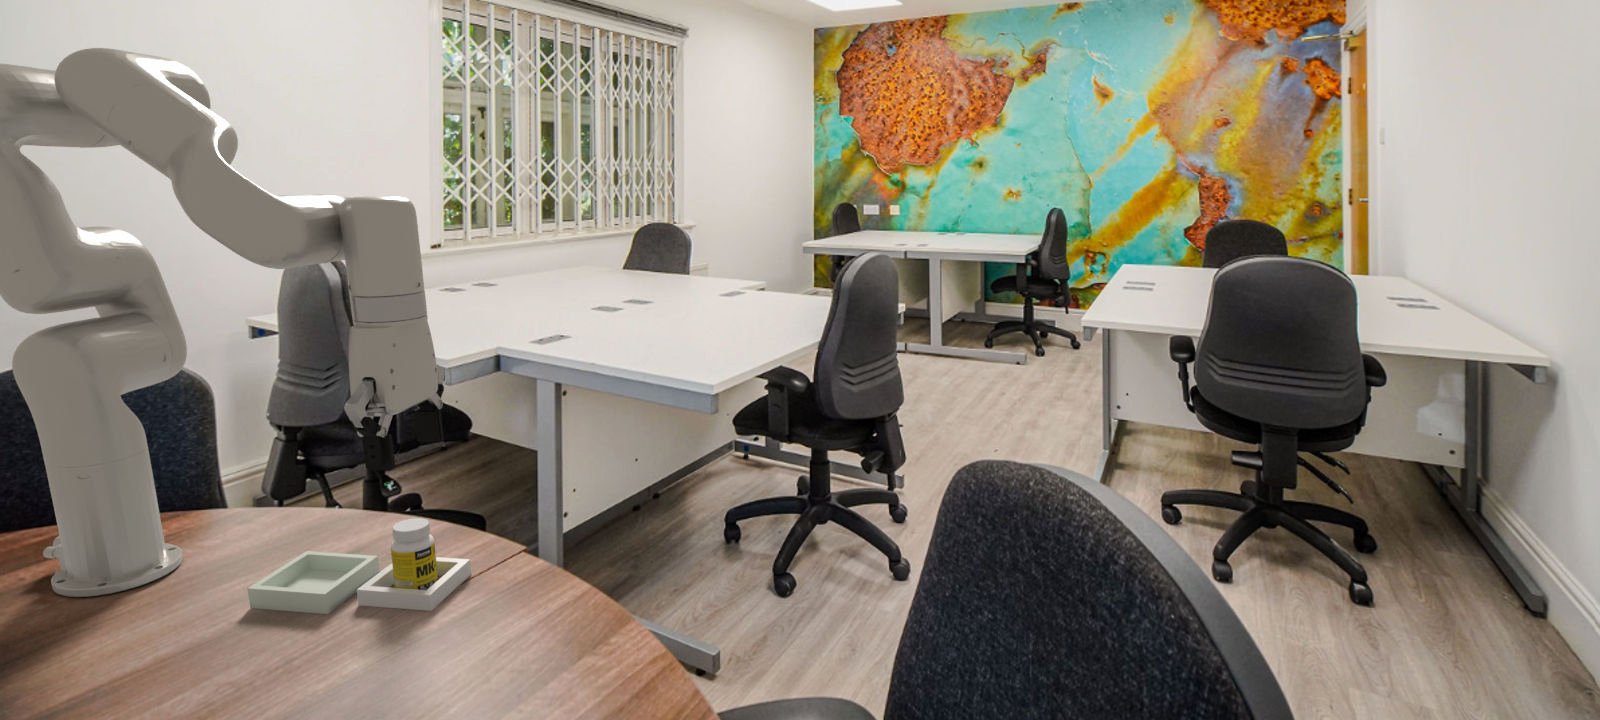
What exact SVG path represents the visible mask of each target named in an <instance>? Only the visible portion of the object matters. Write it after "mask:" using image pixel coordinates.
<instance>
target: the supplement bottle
mask: <svg viewBox="0 0 1600 720" xmlns="http://www.w3.org/2000/svg"><path fill="white" fill-rule="evenodd" d="M392 539H393V541H392V542H391V545H390V553H391V563H392V565H393V575H394V584H393V585H394V588H403V589H416V590H427V589H429V588H430V587H431V586H432V585H433V584H434V583H435V582H437V581H438V580H439V579H438V576H437V566H436V557H437V554H436V545H435V543H436V542H435V539H434V536H433V535H432V534H431V526H430V521H429V520H428V519H425V518H420V517H419V518H417V517H414V518H409V519H408V518H407V519H404V520H400V521H399V522H396V523H395V524H394V525H393V526H392Z"/></svg>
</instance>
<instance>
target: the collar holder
mask: <svg viewBox="0 0 1600 720" xmlns="http://www.w3.org/2000/svg"><path fill="white" fill-rule="evenodd" d="M436 566H437V577H439V579H438V581H437V582H435V583H434V584H433V585H432V586H431V587H430V588H429V589H427V590H416V589H403V588H395V587H393V585H394V575H393V565H392V562H391V563H390V564H388V565H387V566H386V567H384V568H382V570H381V571H380V572H379V573H378V574H377V575H375V576H374V577H373V578H371V579H370V580H369V581H367V582H366V583H365V584H363V585H362V586H361V587H360V588H358V589H357V592H356V595H357V596H356V597H357V602H358V603H357V605H358V606H361V607H362V606H363V607H374V608H376V607H377V608H388V609H389V608H390V609H399V610H400V609H401V610H412V611H428V612H432V611H433V610H435V609H436V607H437V606H439V605H440V604H441V603H442V602H443V601H444V600H445V599H446V598H448V596H450V594H452V592H454V591H455V590H456V589H457V588H458V587H459V586H460V585H461V584H462V583H463V582H465V580H466V581H467V579H468V578H469V577H470V576H471V575H472V567H471V566H472V565H471V559H470V558H456V557H455V558H453V557H442V556H441V557H440V556H436Z"/></svg>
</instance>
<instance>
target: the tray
mask: <svg viewBox="0 0 1600 720" xmlns="http://www.w3.org/2000/svg"><path fill="white" fill-rule="evenodd" d="M379 572H381V571H380V564H379V556H378V555H368V554H353V553H342V552H341V553H340V552H326V551H313V550H312V551H311V550H306V551H304V552H303V553H301V554H300V555H298V556H297V557H295V558H293V559H291V560H290V561H288V562H287V563H285V564H283V565H282V566H281V567H280V566H279V568H277V569H276V570H274V571H272V572H271V573H270V574H267V575H266V576H265V577H263V578H261V579H260V580H258V581H257V582H255V583H253V584H251V586H249V587H248V588H247V595H248V601H249V607H250V609H255V610H256V609H259V610H270V611H281V612H292V613H293V612H295V613H296V612H297V613H307V614H318V615H319V614H321V615H328V614H330V613H332V612H333V611H334V610H335V609H337V608H338V607H339V606H341V605H342V604H343V603H344V602H345V601H347V600H349V598H351V597H352V596H353V595H355V594H357V589H358V588H360V587H361V586H362V585H363V584H365V583H366V582H367V581H369V580H370V579H371V578H373V577H374V576H375V575H377V574H378V573H379Z"/></svg>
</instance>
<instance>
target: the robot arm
mask: <svg viewBox="0 0 1600 720" xmlns="http://www.w3.org/2000/svg"><path fill="white" fill-rule="evenodd" d="M211 108H212V107H211V96H210V95H209V91H208V89H207V87H206V85H205V84H204V82H203V81H202V80H201V78H200V77H199V76H198V75H197V74H196V73H195V72H194V71H193V70H191V68H189V67H188V66H185V65H184V64H182V63H180V62H179V61H176V60H173V59H171V58H167V57H161V56H157V55H152V54H144V53H138V52H132V51H127V50H120V49H114V48H107V47H106V48H105V47H92V48H91V47H90V48H85V49H84V48H83V49H80V50H77V51H74V52H72V53H70V54H68V55H66V57H64V58H63V59H62V61H60V62H59V64H58V65H57V68H56V70H53V69H45V68H37V67H32V66H30V67H29V66H23V65H16V64H9V63H1V62H0V296H1V298H2V300H3V301H4V302H5V303H6V305H8V306H9V307H11V308H12V309H14V310H15V311H18V312H21V313H24V314H30V315H43V314H44V315H45V314H54V313H63V312H69V311H76V310H81V309H82V310H83V309H86V308H87V309H88V308H95V309H96V311H97V314H98V316H99V317H93V318H87V319H86V318H85V319H81V320H76V321H71V322H66V323H60V324H55V325H52V326H49V327H46V328H44V329H40V330H38V331H35V332H34V333H32V334H30V335H29V336H27V337H26V338H25V339H24V340H22V341H21V343H20V344H18V346H17V348H16V349H15V351H14V353H13V355H12V359H11V360H12V361H11V363H12V364H11V366H12V367H11V369H12V373H13V376H14V379H15V383H16V385H17V387H18V389H19V390H20V392H21V394H22V397H23V399H24V400H25V403H26V405H27V406H28V408H29V411H30V413H31V416H32V419H33V422H34V424H35V428H36V431H37V435H38V439H39V443H40V447H41V453H42V459H43V461H44V466H45V470H46V471H45V472H46V476H47V480H48V486H49V491H50V495H51V501H52V506H53V510H54V514H55V520H56V524H57V530H58V535H57V536H56V537H55V538H54V540H53V542H52V546H51V545H50V546H47V547H45V548H44V549H43V552H42V556H43V557H44V558H47V559H58V563H59V567H60V569H59V570H58V571H56V572H55V573H54V574H53V575H52V577H51V580H50V584H51V589H52V591H53V592H54V593H56V594H58V595H61V596H64V597H71V598H73V597H74V598H82V597H83V598H85V597H86V598H87V597H96V596H103V595H109V594H114V593H119V592H122V591H127V590H130V589H134V588H137V587H141V586H143V585H146V584H149V583H152V582H154V581H156V580H159V579H161V578H162V577H164V576H166V575H168V574H169V573H171V572H173V571H174V570H175V569H177V568H178V567H179V566H180V565H181V563H182V561H183V558H184V556H183V551H182V548H180V546H177V545H175V544H172V543H167V542H165V538H164V532H163V527H162V520H161V515H160V509H159V504H158V496H157V491H156V486H155V480H154V479H155V478H154V474H153V468H152V463H151V457H150V451H149V446H148V439H147V436H146V432H145V429H144V426H143V424H142V421H140V419H139V417H138V416H137V415H136V414H135V413H134V412H133V411H132V410H131V409H130V407H129V406H128V405H127V404H126V403H125V402H124V400H123V399H122V395H124V394H127V393H131V392H133V391H136V390H139V389H143V388H147V387H151V386H154V385H156V384H157V385H158V384H159V383H163V382H164V381H165V382H166V381H167V380H168V381H169V379H171V378H173V377H174V376H177V374H178V373H179V372H181V370H182V369H183V368H184V366H185V363H186V361H187V355H188V346H187V340H186V337H185V334H184V330H183V328H182V325H181V323H180V319H179V317H178V313H177V311H176V309H175V307H174V305H173V302H172V299H171V297H170V293H169V291H168V289H167V286H166V284H165V281H164V278H163V276H162V273H161V271H160V269H159V266H158V264H157V262H156V259H155V258H154V256H153V255H152V253H151V251H150V250H149V249H148V248H147V247H146V246H145V245H144V244H143V243H142V241H140V240H139V239H138V238H137V237H135V236H134V235H132V234H131V233H129V232H127V231H125V230H122V229H119V228H115V227H109V226H85V227H78V226H77V225H75V223H74V222H73V220H72V218H71V216H70V214H69V212H68V209H67V207H66V205H65V202H64V199H63V197H62V194H61V192H60V191H59V189H58V187H57V186H56V184H55V183H54V182H53V181H52V180H51V178H50V177H49V176H48V175H47V174H46V173H45V172H44V171H43V170H42V169H41V167H40V166H38V165H37V164H35V163H34V162H33V161H32V160H31V159H29V157H27V156H25V155H24V154H23V153H22V151H21V150H20V149H21V148H22V147H23V146H38V147H54V148H55V147H57V148H58V147H59V148H61V147H63V148H84V149H85V148H92V149H93V148H107V147H115V146H121V147H122V148H124V149H125V150H127V151H128V152H130V153H132V154H133V155H134V156H136V157H137V158H139V159H140V160H142V161H143V162H144V163H146V164H148V166H150V167H152V168H153V169H154V170H157V171H158V172H160V174H162V175H164V176H165V177H166V178H168V179H169V180H170V182H171V186H172V190H173V193H174V196H175V197H176V199H177V201H178V203H179V205H180V206H181V209H182V210H183V212H184V213H185V215H186V216H187V217H188V218H189V219H190V221H191V222H192V223H193V224H194V225H195V226H196V227H198V228H199V230H201V231H202V232H203V233H205V234H207V236H209V237H211V238H213V239H214V240H215V241H217V243H220V244H221V245H223V246H224V247H225V248H227V249H229V250H230V251H232V252H233V253H235V254H236V255H238V256H240V257H241V258H243V259H245V260H247V261H249V262H251V263H253V264H256V265H259V266H261V267H263V268H264V267H265V268H268V269H275V270H286V269H293V268H301V267H306V266H312V265H319V264H327V263H333V262H340V261H345V271H346V278H347V286H348V294H349V301H350V302H349V303H350V311H351V317H352V323H353V324H352V326H351V327H350V329H349V330H350V331H349V338H348V374H349V375H348V376H349V387H350V397H349V399H348V400H347V401H346V402H345V404H344V405H343V406H344V407H343V410H344V412H345V414H346V415H347V417H348V419H349V421H350V426H351V427H352V428H354V429H353V430H355V431H356V433H357V436H358V437H360V438H361V442H362V449H363V450H362V451H363V456H364V463H365V468H366V469H367V470H368V471H385V472H386V471H389V472H390V471H393V470H394V469H396V459H395V451H394V442H393V436H392V435H393V434H390V433H389V434H388V431H389V428H390V425H391V421H392V419H393V416H394V415H397V414H400V413H403V412H405V411H407V410H409V409H411V408H413V407H416V408H414V409H413V418H414V426H415V433H416V435H415V436H416V441H417V442H419V443H421V442H422V443H442V441H443V442H444V440H445V439H444V428H443V427H444V426H443V420H442V408H443V404H444V402H443V400H442V397H443V393H444V391H445V387H444V380H445V374H446V369H445V367H443V366H441V365H439V364H437V359H436V354H435V348H434V347H435V346H434V341H433V338H432V333H431V330H430V325H429V321H428V319H429V317H428V308H427V300H426V291H425V284H424V273H423V272H424V271H423V264H422V255H421V254H422V253H421V243H420V235H419V226H418V217H417V216H418V215H417V211H416V207H415V205H414V204H413V202H412V201H411V200H410V199H408V198H407V197H403V196H396V195H393V196H390V195H371V196H369V195H368V196H354V197H351V196H346V195H345V196H344V195H338V194H337V195H336V194H325V193H322V194H284V195H283V194H282V195H279V194H278V195H274V194H272V193H270V192H268V191H267V190H265V189H263V188H262V187H260V186H259V185H257V184H256V183H254V182H252V181H251V180H250V179H248V178H247V177H246V176H244V175H242V174H241V173H240V172H238V171H237V170H235V169H234V168H233V167H232V166H231V164H232V162H233V161H234V159H235V157H236V154H237V151H238V147H239V140H238V135H237V133H236V130H235V129H234V127H233V126H232V125H231V124H230V123H229V122H228V121H226V120H225V119H224V118H222V117H221V116H219V115H218V114H216V113H215V112H214V111H212V110H211ZM375 417H379V420H378V423H377V422H376V421H375V420H374V418H375Z"/></svg>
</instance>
